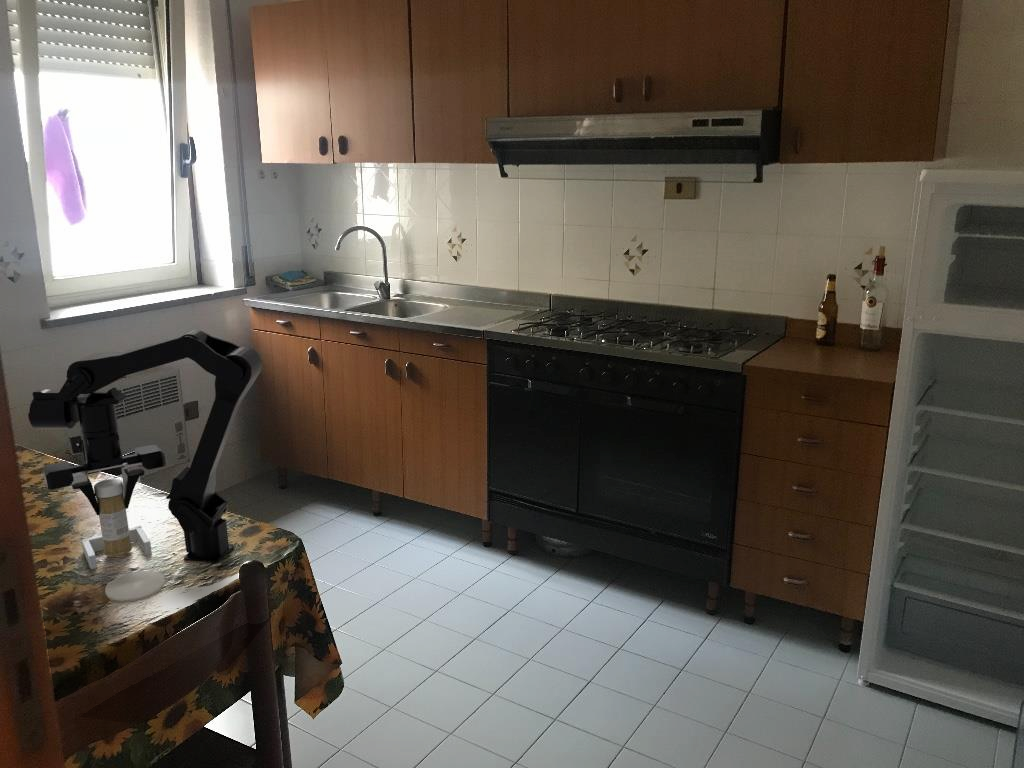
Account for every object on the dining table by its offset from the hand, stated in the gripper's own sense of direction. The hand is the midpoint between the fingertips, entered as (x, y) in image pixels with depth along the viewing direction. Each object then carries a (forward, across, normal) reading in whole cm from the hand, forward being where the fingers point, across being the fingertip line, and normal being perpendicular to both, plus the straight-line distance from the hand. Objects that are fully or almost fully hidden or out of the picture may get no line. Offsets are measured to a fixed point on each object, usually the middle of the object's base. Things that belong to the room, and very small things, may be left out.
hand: (112, 511), depth 147 cm
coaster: (+9, 0, +14) cm, 17 cm away
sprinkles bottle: (+8, 0, 0) cm, 8 cm away
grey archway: (+9, 0, 0) cm, 9 cm away
